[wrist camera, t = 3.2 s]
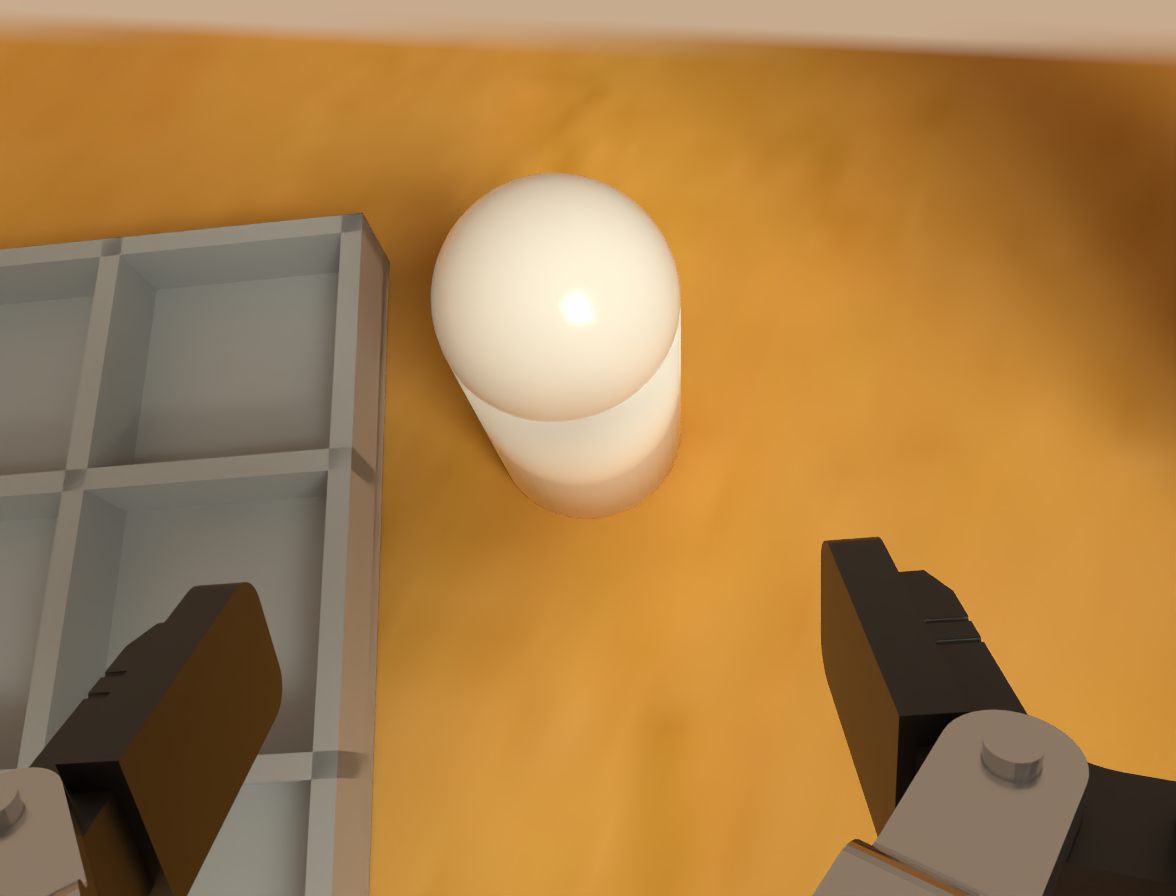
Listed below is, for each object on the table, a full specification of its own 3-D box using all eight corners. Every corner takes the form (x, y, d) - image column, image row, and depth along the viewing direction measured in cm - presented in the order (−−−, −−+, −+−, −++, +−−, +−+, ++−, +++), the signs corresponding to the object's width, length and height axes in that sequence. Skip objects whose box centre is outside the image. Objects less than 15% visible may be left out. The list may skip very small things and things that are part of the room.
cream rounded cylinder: (673, 341, 27) (668, 102, 17) (689, 511, 25) (693, 345, 16) (498, 356, 27) (402, 131, 18) (501, 525, 25) (395, 371, 16)
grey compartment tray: (389, 261, 29) (362, 212, 26) (361, 1116, 21) (319, 1159, 18) (-61, 305, 30) (-127, 262, 27) (-252, 1133, 22) (-369, 1176, 19)
